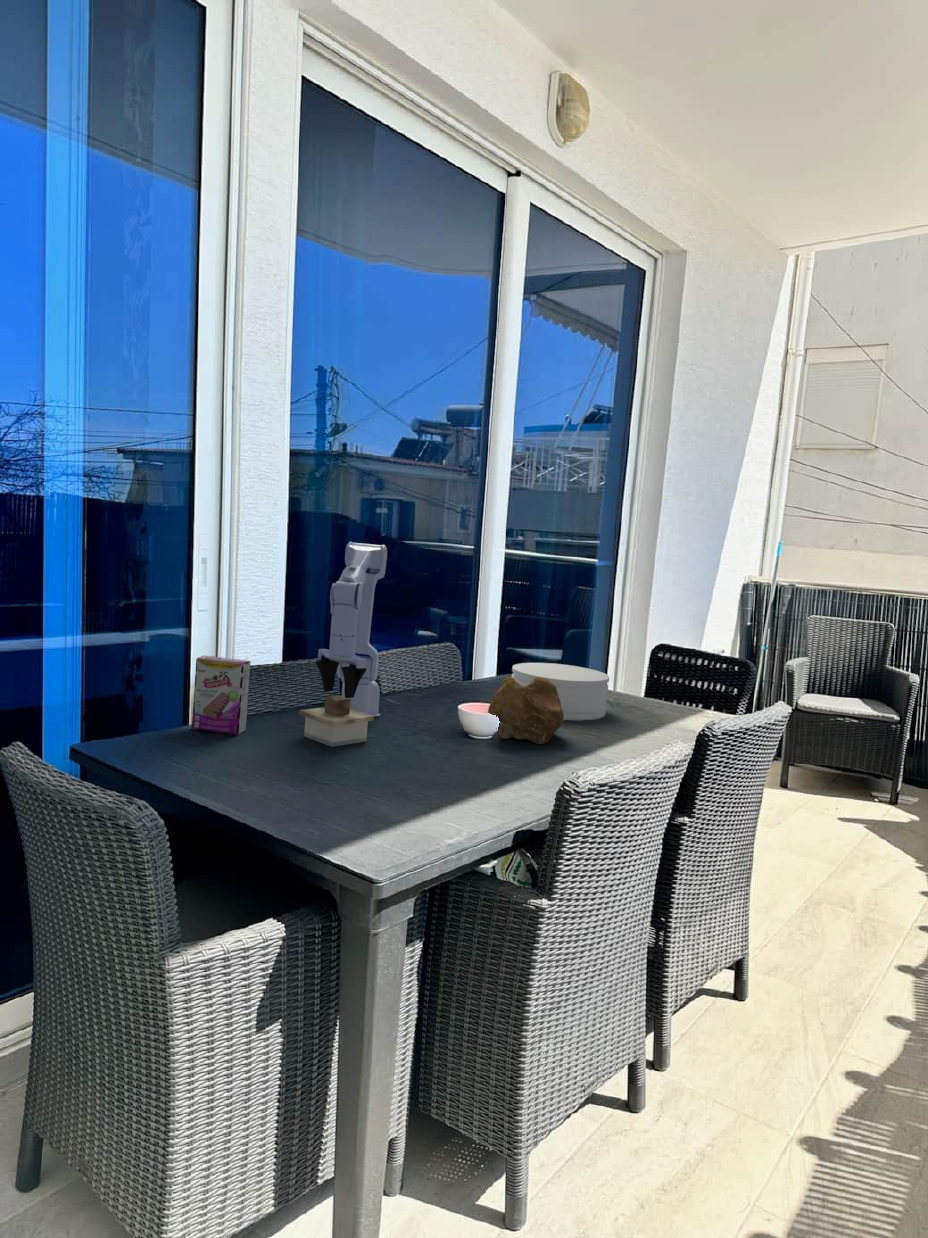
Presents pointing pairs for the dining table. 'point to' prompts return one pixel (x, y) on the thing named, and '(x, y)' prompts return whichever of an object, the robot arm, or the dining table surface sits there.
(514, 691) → the rough brown rock
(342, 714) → the lid
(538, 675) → the grey short cylinder
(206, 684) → the candy bar box
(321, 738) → the dish
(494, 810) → the dining table surface
